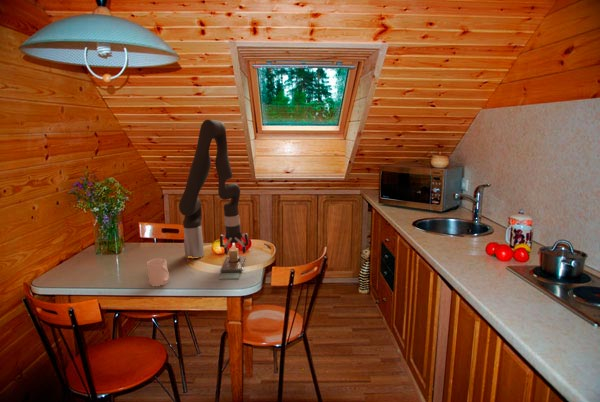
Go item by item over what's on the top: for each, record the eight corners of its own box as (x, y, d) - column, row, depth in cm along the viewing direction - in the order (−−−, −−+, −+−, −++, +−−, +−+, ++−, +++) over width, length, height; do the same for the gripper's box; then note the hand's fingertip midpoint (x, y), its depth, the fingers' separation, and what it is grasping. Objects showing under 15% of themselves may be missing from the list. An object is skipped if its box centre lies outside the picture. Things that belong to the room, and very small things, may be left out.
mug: (162, 290, 190) (159, 268, 188) (145, 284, 197) (142, 263, 194) (177, 283, 197) (175, 261, 194) (160, 277, 204) (158, 256, 201)
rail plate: (220, 273, 205) (220, 269, 205) (226, 260, 221) (226, 256, 220) (241, 273, 205) (241, 269, 205) (245, 259, 221) (245, 256, 220)
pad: (219, 279, 199) (219, 278, 199) (221, 274, 205) (221, 273, 205) (238, 279, 199) (238, 278, 199) (240, 273, 205) (240, 272, 205)
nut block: (230, 265, 214) (228, 251, 212) (231, 262, 218) (230, 248, 216) (238, 265, 214) (236, 251, 212) (239, 262, 218) (238, 248, 216)
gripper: (216, 226, 207) (220, 257, 211) (246, 225, 207) (248, 255, 211) (219, 221, 214) (222, 251, 219) (247, 220, 214) (250, 250, 219)
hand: (235, 253), depth 215 cm, fingers open, 8 cm apart
